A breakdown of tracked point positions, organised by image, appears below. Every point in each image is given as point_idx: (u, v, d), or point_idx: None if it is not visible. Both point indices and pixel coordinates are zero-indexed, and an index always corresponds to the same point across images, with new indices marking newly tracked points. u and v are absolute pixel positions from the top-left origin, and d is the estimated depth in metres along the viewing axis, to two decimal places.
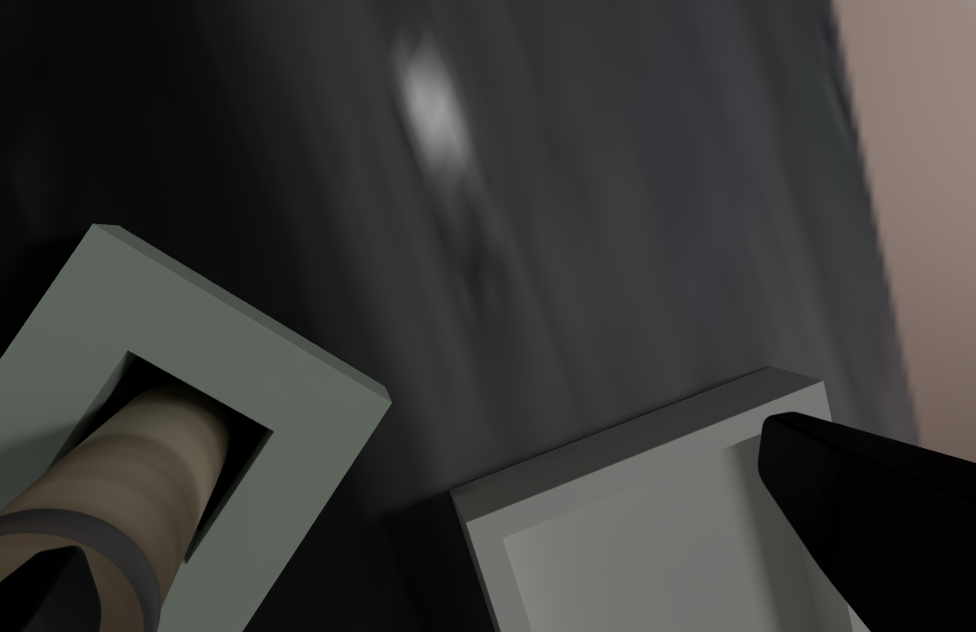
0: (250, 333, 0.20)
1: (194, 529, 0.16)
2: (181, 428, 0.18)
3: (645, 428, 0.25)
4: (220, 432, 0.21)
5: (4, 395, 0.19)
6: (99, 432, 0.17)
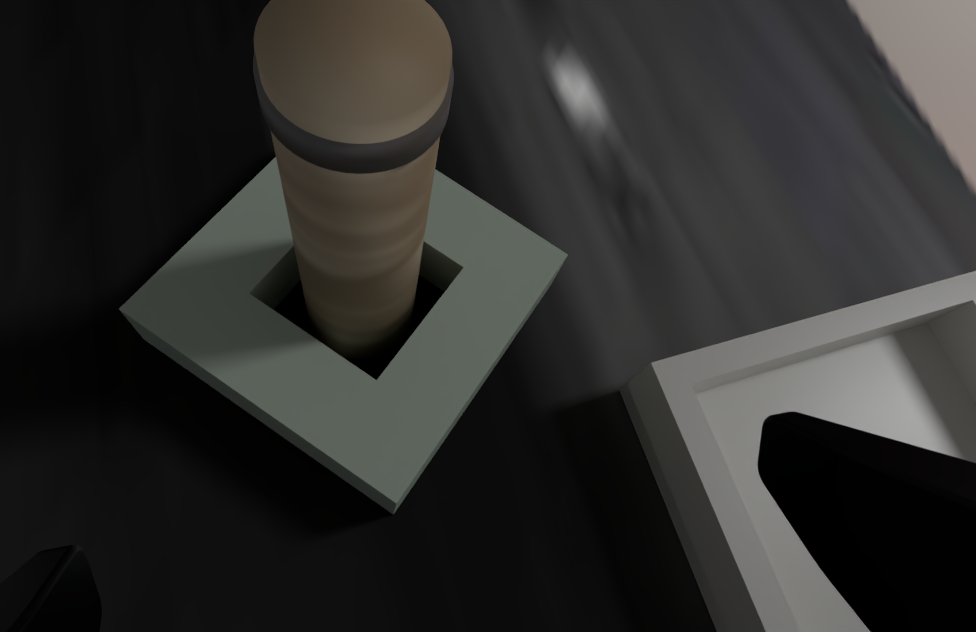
0: (445, 188, 0.23)
1: (425, 223, 0.18)
2: None
3: None
4: None
5: (242, 214, 0.22)
6: None
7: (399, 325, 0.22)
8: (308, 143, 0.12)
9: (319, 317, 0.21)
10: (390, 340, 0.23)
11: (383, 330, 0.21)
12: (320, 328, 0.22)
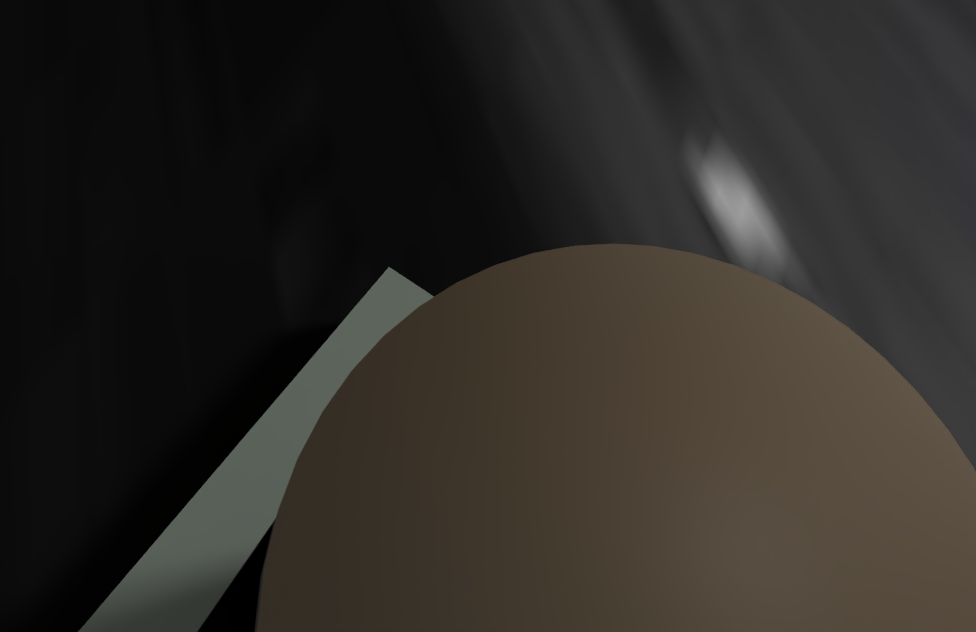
0: None
1: None
2: None
3: None
4: None
5: (239, 492, 0.12)
6: None
7: None
8: None
9: None
10: None
11: None
12: None
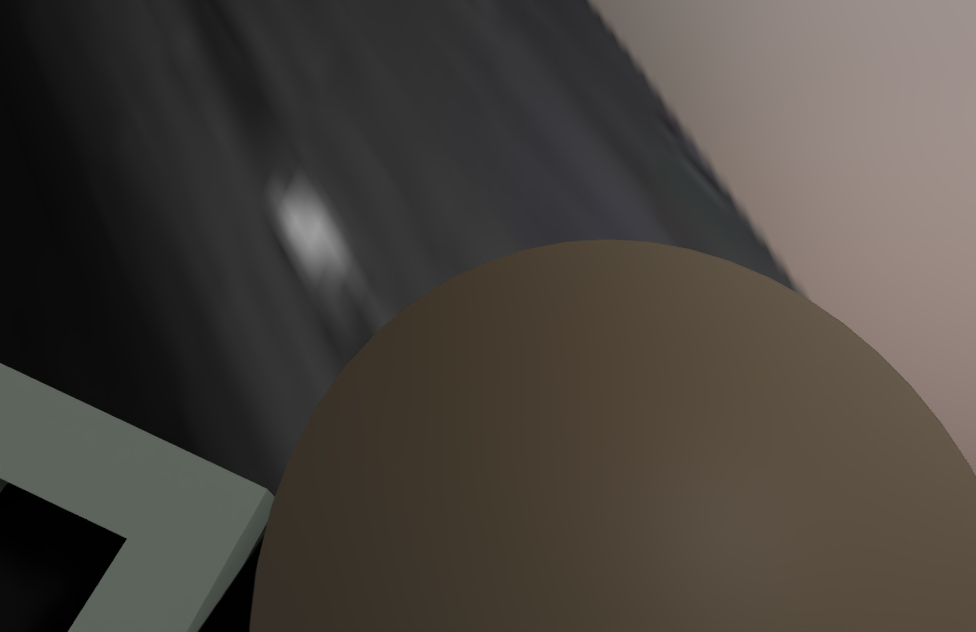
0: (104, 429, 0.19)
1: None
2: None
3: None
4: None
5: None
6: None
7: None
8: None
9: None
10: None
11: None
12: None
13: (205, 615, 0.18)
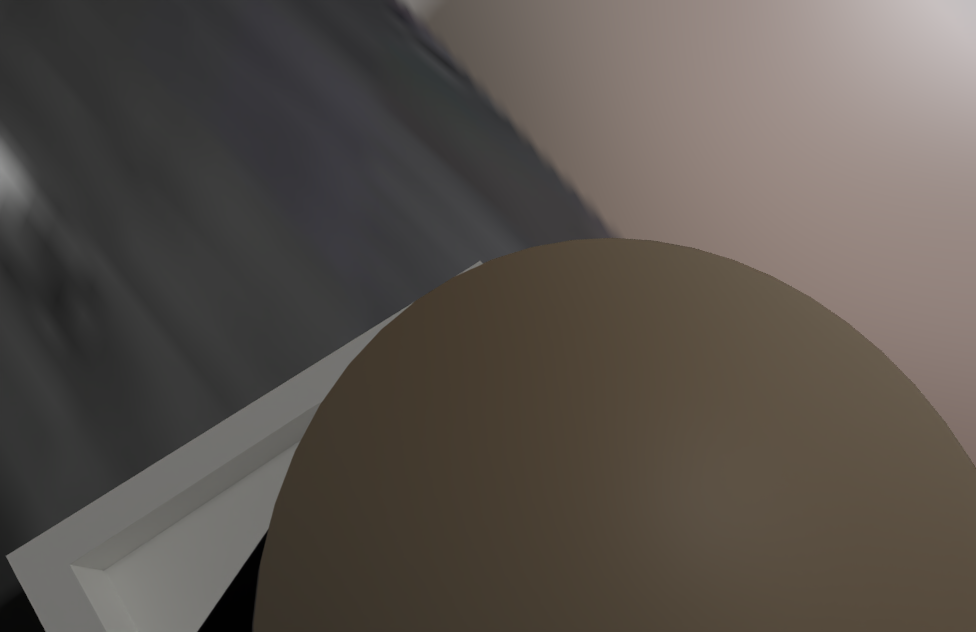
0: None
1: None
2: None
3: None
4: None
5: None
6: None
7: None
8: None
9: None
10: None
11: None
12: None
13: None
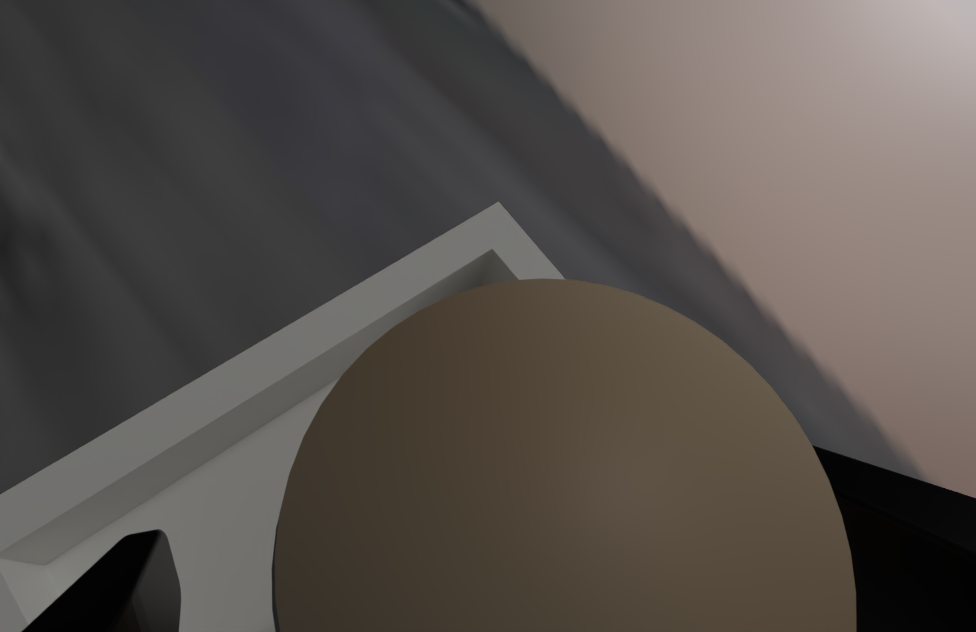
0: None
1: None
2: None
3: None
4: None
5: None
6: None
7: None
8: None
9: None
10: None
11: None
12: None
13: None
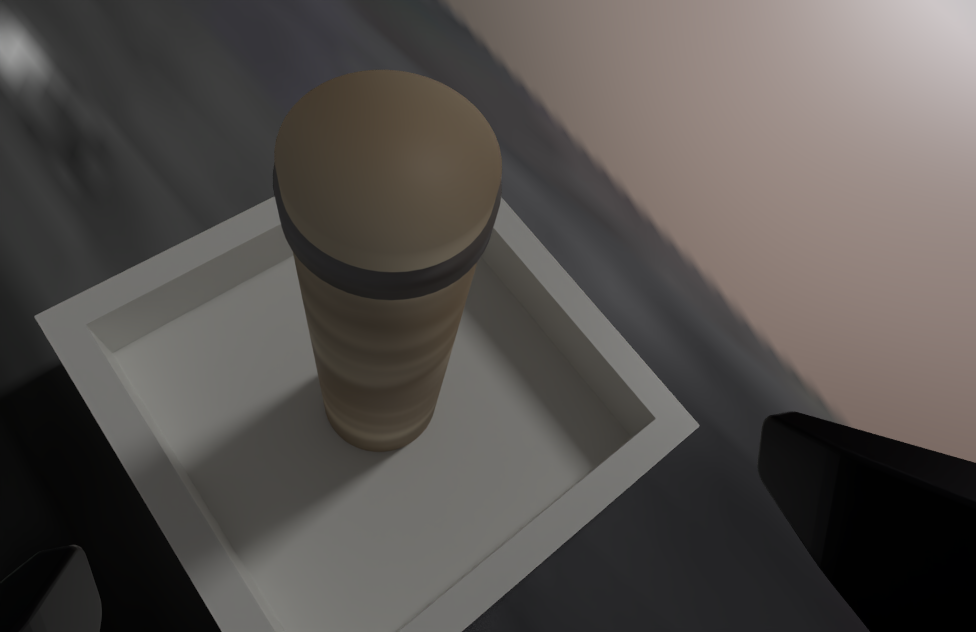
0: None
1: None
2: None
3: None
4: None
5: None
6: None
7: (424, 419, 0.20)
8: (337, 271, 0.11)
9: (337, 414, 0.19)
10: (413, 433, 0.21)
11: (407, 427, 0.19)
12: (338, 423, 0.20)
13: None
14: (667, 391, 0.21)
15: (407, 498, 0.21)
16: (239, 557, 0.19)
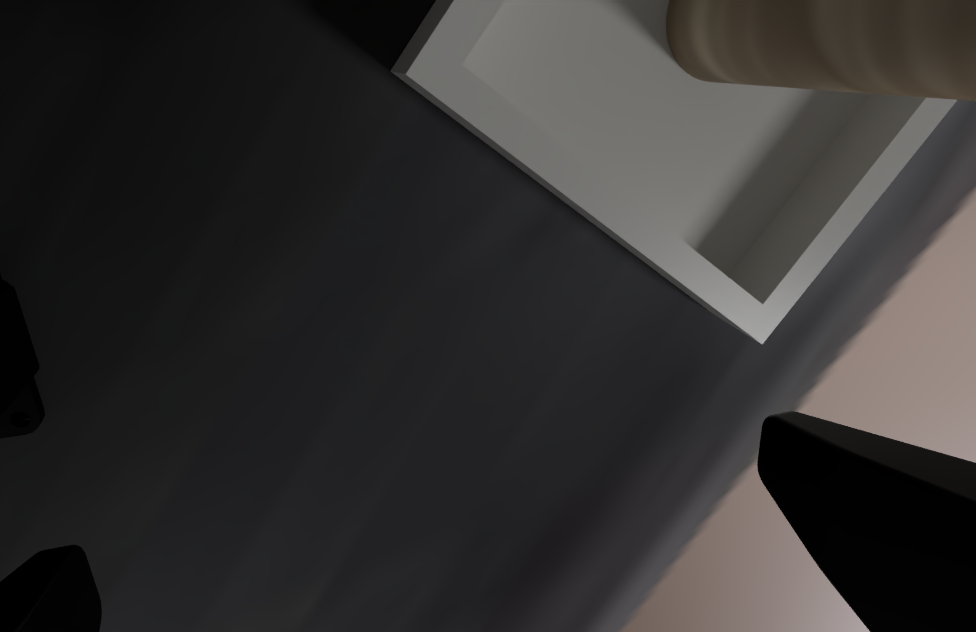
0: None
1: (897, 94, 0.14)
2: None
3: None
4: None
5: None
6: None
7: (725, 77, 0.19)
8: None
9: None
10: (700, 69, 0.19)
11: (719, 63, 0.18)
12: None
13: None
14: (789, 307, 0.22)
15: (628, 84, 0.20)
16: None
